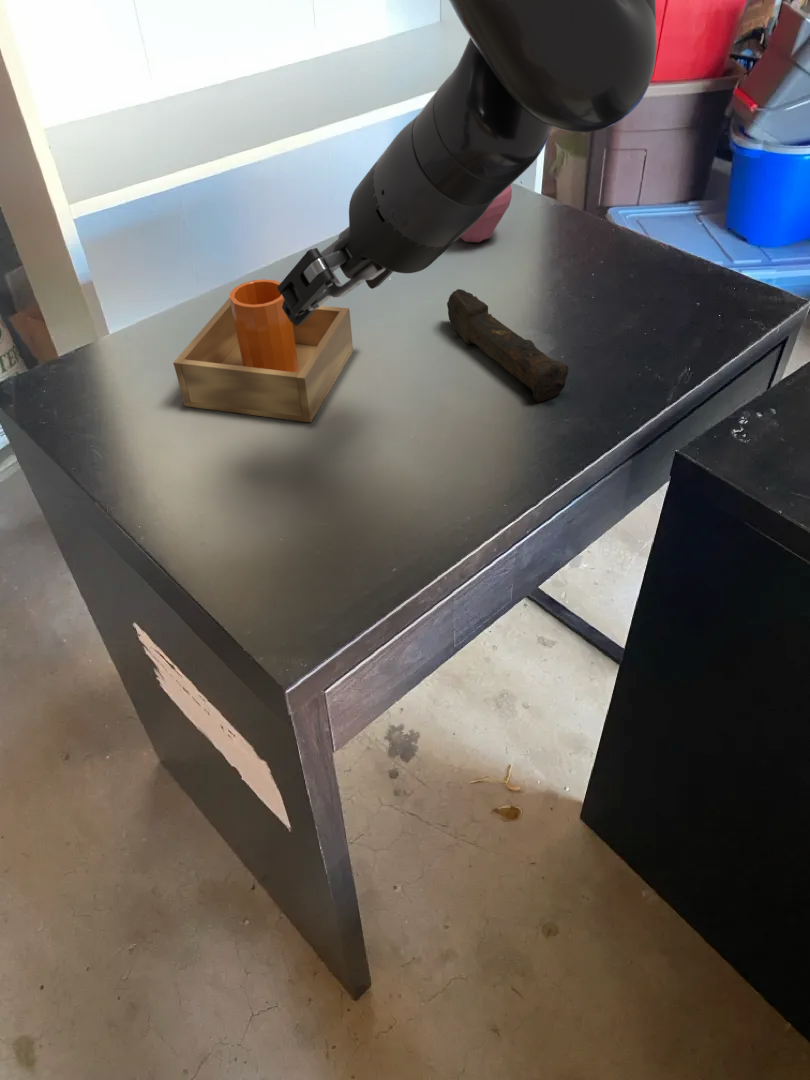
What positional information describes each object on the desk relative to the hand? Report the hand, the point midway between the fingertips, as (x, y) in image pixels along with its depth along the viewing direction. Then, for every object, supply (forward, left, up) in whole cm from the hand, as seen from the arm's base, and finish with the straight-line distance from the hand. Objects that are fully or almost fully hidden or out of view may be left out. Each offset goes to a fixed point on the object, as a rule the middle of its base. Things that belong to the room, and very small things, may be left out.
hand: (330, 295), depth 70 cm
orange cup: (-10, +7, -13) cm, 18 cm away
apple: (+4, +44, -14) cm, 46 cm away
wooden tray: (-10, +7, -14) cm, 18 cm away
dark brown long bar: (+12, +15, -14) cm, 23 cm away
